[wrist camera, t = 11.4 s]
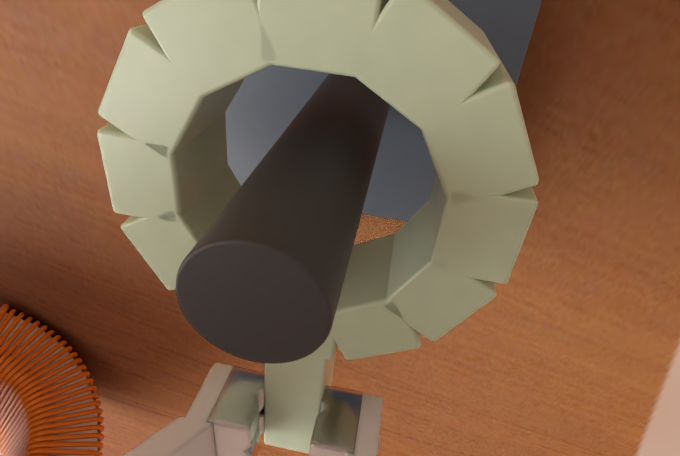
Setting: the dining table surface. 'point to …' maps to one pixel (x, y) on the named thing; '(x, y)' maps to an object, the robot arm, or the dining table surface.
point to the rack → (312, 196)
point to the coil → (44, 394)
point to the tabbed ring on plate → (387, 82)
